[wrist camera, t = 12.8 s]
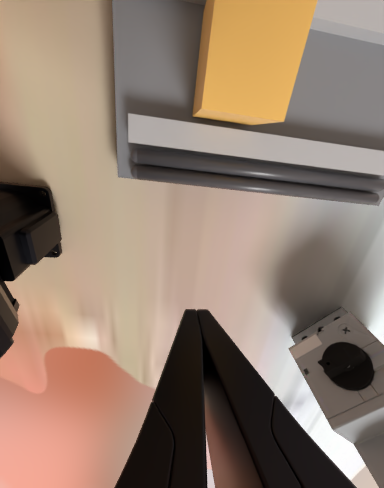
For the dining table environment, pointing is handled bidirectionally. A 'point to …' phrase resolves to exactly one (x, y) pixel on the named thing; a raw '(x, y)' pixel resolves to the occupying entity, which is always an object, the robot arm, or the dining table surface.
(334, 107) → the panel
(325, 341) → the circuit breaker
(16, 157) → the dining table surface
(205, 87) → the toggle
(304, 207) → the dining table surface
